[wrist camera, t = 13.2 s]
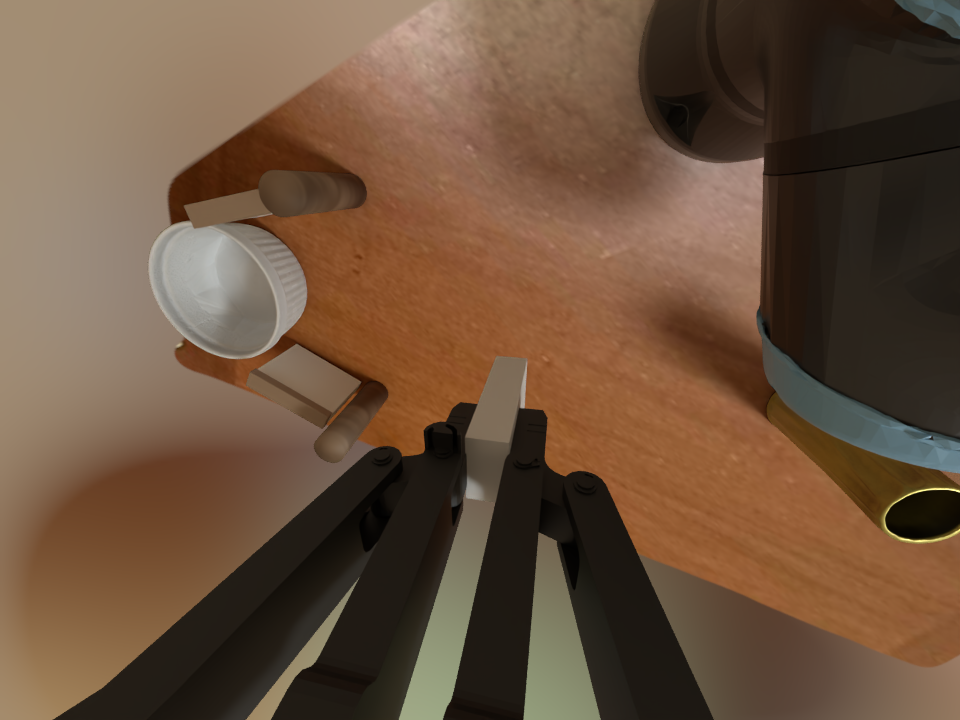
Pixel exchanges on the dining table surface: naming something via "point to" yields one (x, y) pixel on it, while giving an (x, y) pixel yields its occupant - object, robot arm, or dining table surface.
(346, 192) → the gate posts
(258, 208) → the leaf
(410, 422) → the dining table surface
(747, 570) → the dining table surface
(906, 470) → the vase
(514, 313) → the dining table surface
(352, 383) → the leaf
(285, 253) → the ramekin
